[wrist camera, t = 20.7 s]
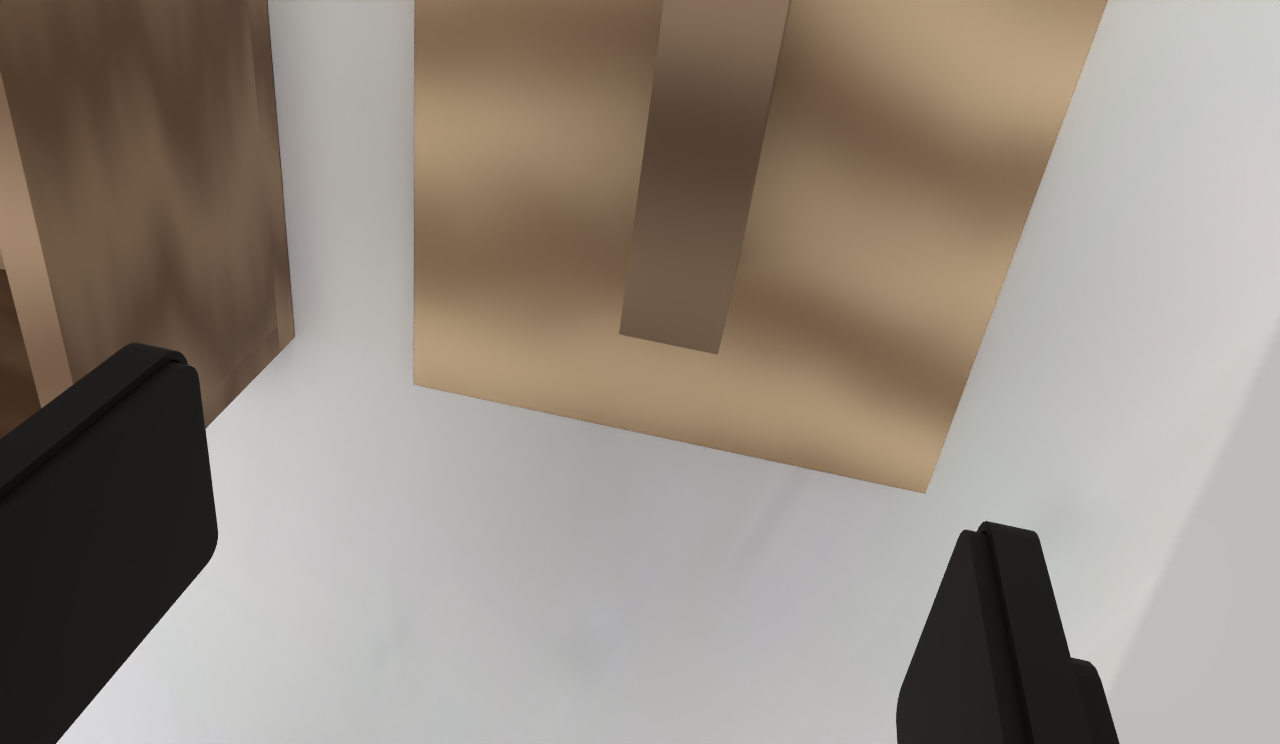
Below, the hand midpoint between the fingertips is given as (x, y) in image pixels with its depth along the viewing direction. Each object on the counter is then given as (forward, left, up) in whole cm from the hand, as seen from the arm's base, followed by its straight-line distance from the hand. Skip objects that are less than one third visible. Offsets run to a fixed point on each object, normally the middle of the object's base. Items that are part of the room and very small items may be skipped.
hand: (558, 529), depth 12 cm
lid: (+1, 0, -18) cm, 18 cm away
